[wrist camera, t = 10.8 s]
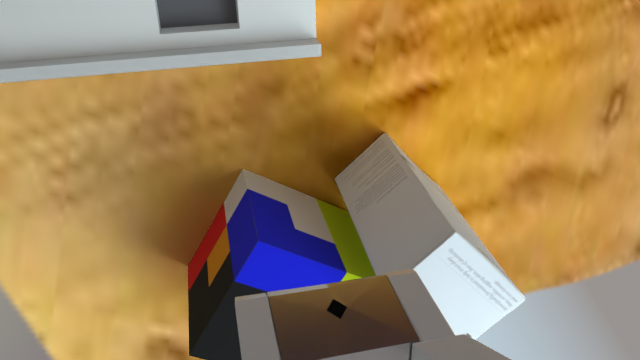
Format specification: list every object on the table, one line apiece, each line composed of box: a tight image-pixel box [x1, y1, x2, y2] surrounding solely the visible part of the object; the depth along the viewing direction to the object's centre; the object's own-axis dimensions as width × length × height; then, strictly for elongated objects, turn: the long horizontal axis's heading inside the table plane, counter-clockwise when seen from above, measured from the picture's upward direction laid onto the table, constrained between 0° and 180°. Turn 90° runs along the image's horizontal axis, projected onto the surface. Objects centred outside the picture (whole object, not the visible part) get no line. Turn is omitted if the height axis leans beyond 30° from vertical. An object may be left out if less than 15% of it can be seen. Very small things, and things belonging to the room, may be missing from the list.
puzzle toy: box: [188, 169, 376, 360], centre depth 42 cm, size 10×10×10 cm
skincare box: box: [334, 133, 526, 340], centre depth 39 cm, size 8×6×15 cm
